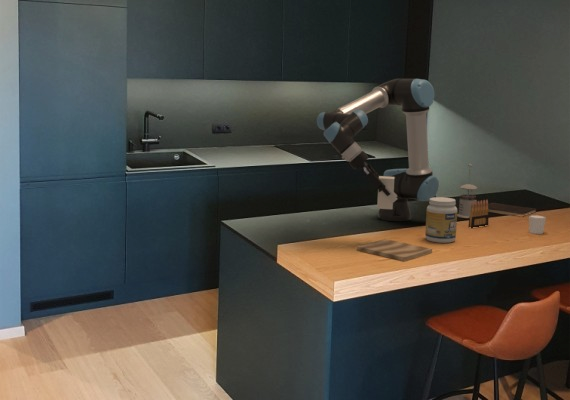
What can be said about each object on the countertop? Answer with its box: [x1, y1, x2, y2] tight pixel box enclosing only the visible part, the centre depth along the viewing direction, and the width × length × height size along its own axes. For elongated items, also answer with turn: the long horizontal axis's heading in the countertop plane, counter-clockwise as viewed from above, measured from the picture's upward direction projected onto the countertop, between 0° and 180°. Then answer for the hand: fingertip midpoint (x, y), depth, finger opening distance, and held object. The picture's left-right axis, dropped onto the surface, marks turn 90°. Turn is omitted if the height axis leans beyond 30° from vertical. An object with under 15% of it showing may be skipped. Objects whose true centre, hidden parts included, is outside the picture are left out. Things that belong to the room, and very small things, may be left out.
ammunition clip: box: [468, 199, 490, 229], centre depth 315 cm, size 11×2×12 cm, turn 122°
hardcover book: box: [488, 202, 537, 216], centre depth 351 cm, size 16×23×2 cm
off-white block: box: [376, 175, 394, 210], centre depth 280 cm, size 6×6×12 cm
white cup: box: [528, 214, 547, 235], centre depth 305 cm, size 7×7×7 cm
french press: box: [457, 163, 478, 219], centre depth 337 cm, size 10×12×25 cm
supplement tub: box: [424, 196, 458, 244], centre depth 289 cm, size 12×12×17 cm
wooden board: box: [356, 238, 433, 262], centre depth 272 cm, size 22×18×2 cm
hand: (394, 199), depth 280 cm, fingers closed on off-white block, 6 cm apart
